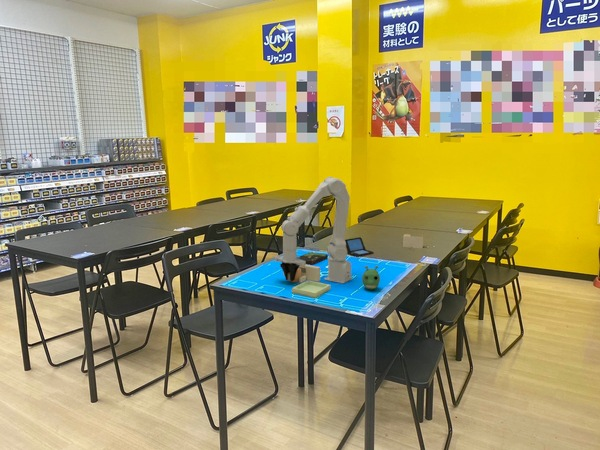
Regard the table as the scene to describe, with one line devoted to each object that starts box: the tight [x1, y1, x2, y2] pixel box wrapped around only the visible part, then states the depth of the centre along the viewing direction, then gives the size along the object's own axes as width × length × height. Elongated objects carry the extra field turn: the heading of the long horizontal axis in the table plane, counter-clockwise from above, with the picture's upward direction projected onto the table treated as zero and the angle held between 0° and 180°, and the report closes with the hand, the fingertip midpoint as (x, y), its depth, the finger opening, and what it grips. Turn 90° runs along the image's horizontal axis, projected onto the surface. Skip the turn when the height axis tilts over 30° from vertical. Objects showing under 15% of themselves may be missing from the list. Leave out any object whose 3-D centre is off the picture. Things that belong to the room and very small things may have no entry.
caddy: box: [287, 268, 301, 283], centre depth 192 cm, size 5×7×5 cm, turn 147°
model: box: [402, 233, 424, 249], centre depth 251 cm, size 3×11×8 cm, turn 73°
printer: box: [282, 264, 321, 284], centre depth 195 cm, size 18×7×6 cm, turn 57°
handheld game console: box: [345, 236, 374, 258], centre depth 238 cm, size 12×11×7 cm
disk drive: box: [297, 251, 329, 266], centre depth 225 cm, size 10×3×15 cm
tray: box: [291, 280, 331, 299], centre depth 180 cm, size 11×12×2 cm
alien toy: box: [361, 265, 381, 290], centre depth 181 cm, size 7×8×10 cm
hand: (290, 279), depth 190 cm, fingers closed on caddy
